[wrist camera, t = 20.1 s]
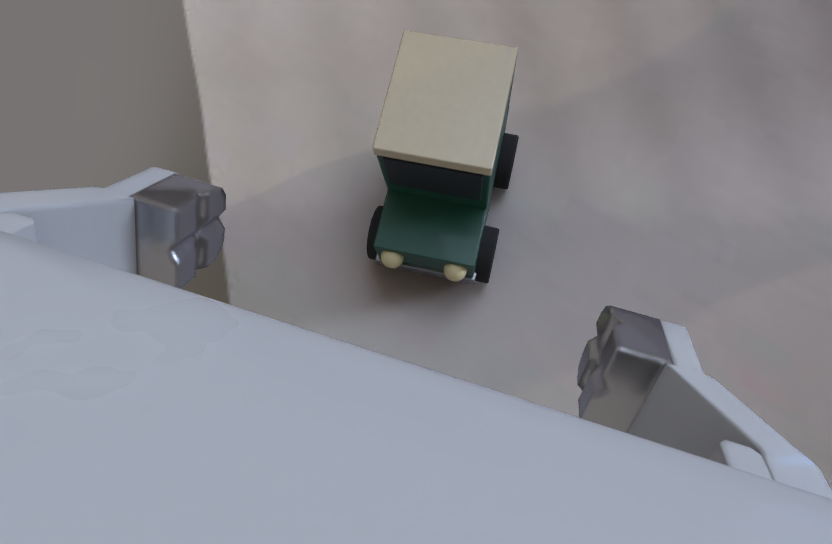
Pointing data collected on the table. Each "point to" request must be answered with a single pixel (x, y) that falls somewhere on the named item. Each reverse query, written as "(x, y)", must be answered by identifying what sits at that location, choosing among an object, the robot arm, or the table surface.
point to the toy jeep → (443, 156)
